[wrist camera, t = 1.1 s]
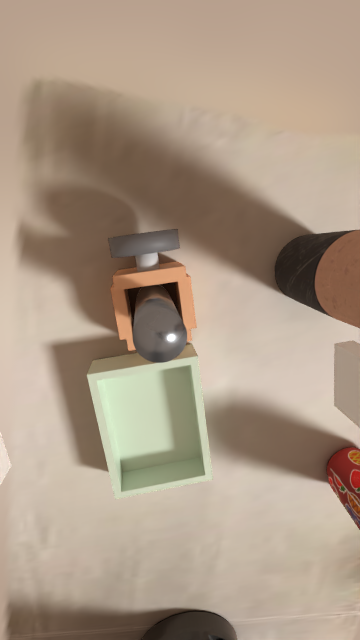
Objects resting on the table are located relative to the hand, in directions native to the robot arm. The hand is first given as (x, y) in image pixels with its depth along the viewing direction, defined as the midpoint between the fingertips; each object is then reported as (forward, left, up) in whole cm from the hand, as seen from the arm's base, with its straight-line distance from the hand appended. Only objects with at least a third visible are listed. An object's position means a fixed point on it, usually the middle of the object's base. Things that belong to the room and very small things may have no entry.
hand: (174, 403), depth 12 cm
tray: (-13, +2, -22) cm, 26 cm away
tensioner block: (+1, 0, -22) cm, 22 cm away
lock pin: (0, 0, -22) cm, 22 cm away
